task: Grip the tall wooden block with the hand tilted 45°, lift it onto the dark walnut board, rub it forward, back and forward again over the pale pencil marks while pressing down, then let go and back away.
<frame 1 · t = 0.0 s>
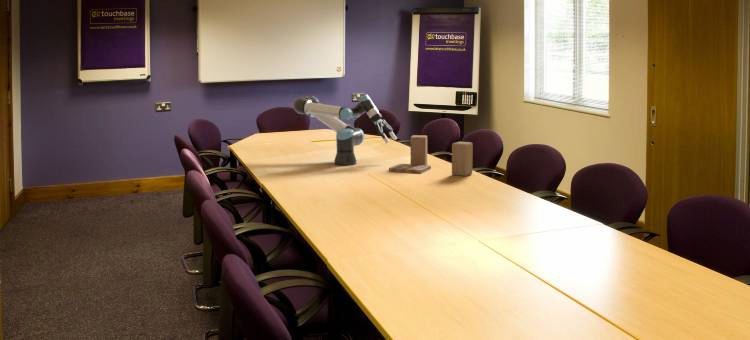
hand: (391, 141, 479), 15 cm above the table, tool tilted 35°, fingers open, 13 cm apart
wooden block: (419, 166, 470), on the table
marked board: (410, 169, 455), on the table
block: (462, 174, 438), on the table
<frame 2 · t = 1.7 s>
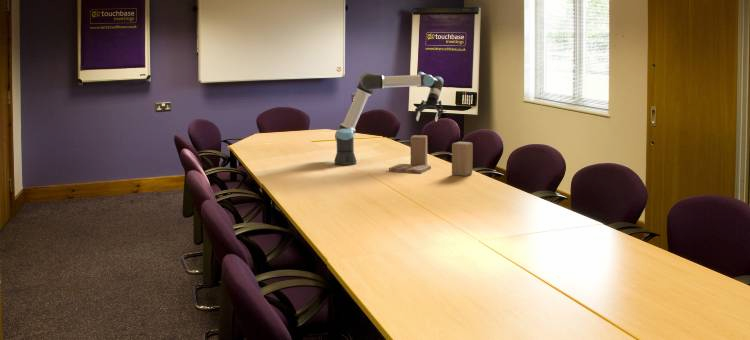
hand: (426, 120, 476), 29 cm above the table, tool tilted 45°, fingers open, 13 cm apart
nothing on the table moved.
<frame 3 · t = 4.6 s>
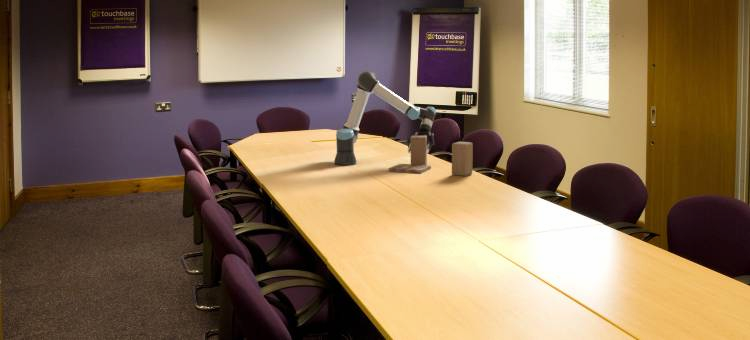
hand: (417, 152, 466), 9 cm above the table, tool tilted 45°, fingers closed on wooden block, 12 cm apart
wooden block: (418, 166, 469), on the table, touching gripper
everything else where it was.
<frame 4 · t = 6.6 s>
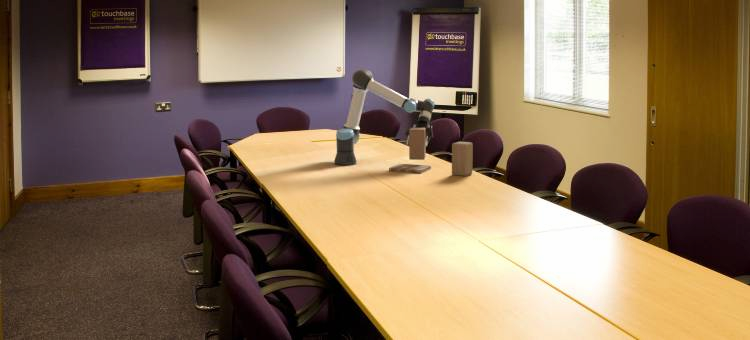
hand: (416, 144, 461), 15 cm above the table, tool tilted 45°, fingers closed on wooden block, 12 cm apart
wooden block: (417, 158, 465), point 5 cm above the table, touching gripper
everything else where it was.
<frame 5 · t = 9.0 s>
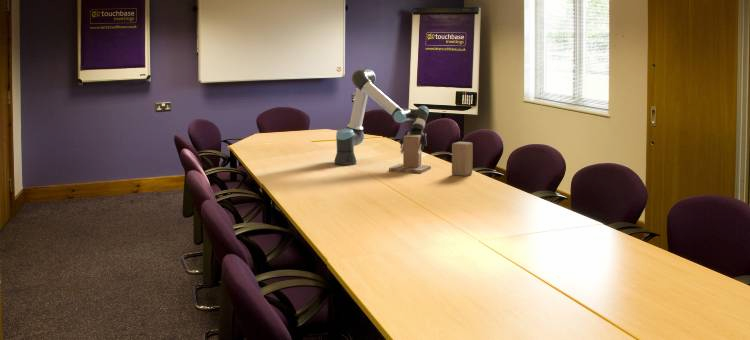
hand: (410, 153, 453), 11 cm above the table, tool tilted 45°, fingers open, 11 cm apart
wooden block: (412, 166, 458), point 2 cm above the table, touching marked board
everything else where it was.
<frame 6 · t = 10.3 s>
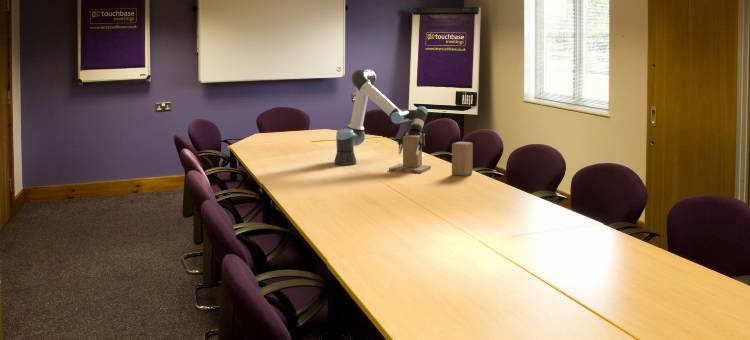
hand: (408, 153, 450), 11 cm above the table, tool tilted 45°, fingers open, 11 cm apart
wooden block: (412, 166, 457), point 2 cm above the table, touching gripper, marked board
everything else where it was.
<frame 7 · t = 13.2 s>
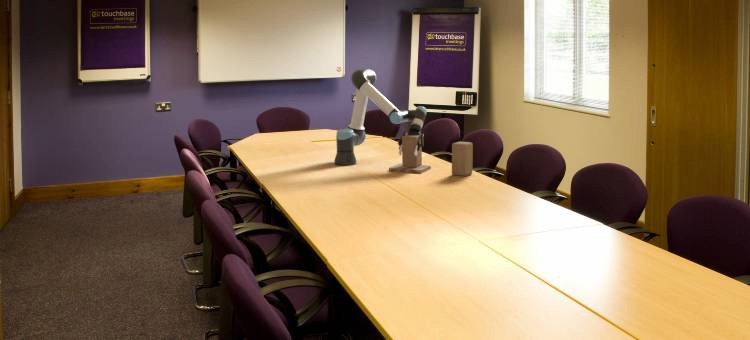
hand: (407, 154, 449), 11 cm above the table, tool tilted 45°, fingers closed on wooden block, 10 cm apart
wooden block: (412, 166, 458), point 2 cm above the table, touching gripper, marked board
everything else where it was.
when the fingers open (11 cm above the table, at t = 13.3 s): wooden block stays where it is, resting on marked board.
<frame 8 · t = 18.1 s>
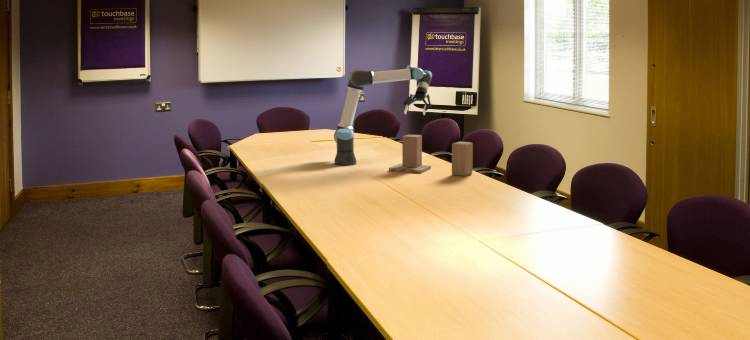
hand: (414, 113, 477), 34 cm above the table, tool tilted 45°, fingers open, 13 cm apart
wooden block: (412, 166, 458), point 2 cm above the table, touching marked board
everything else where it was.
at the end: wooden block inside the target area on the marked board (4.9 cm from its centre), point 1.8 cm above the marked board's base; wooden block tilted 0°; the gripper is holding nothing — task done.
